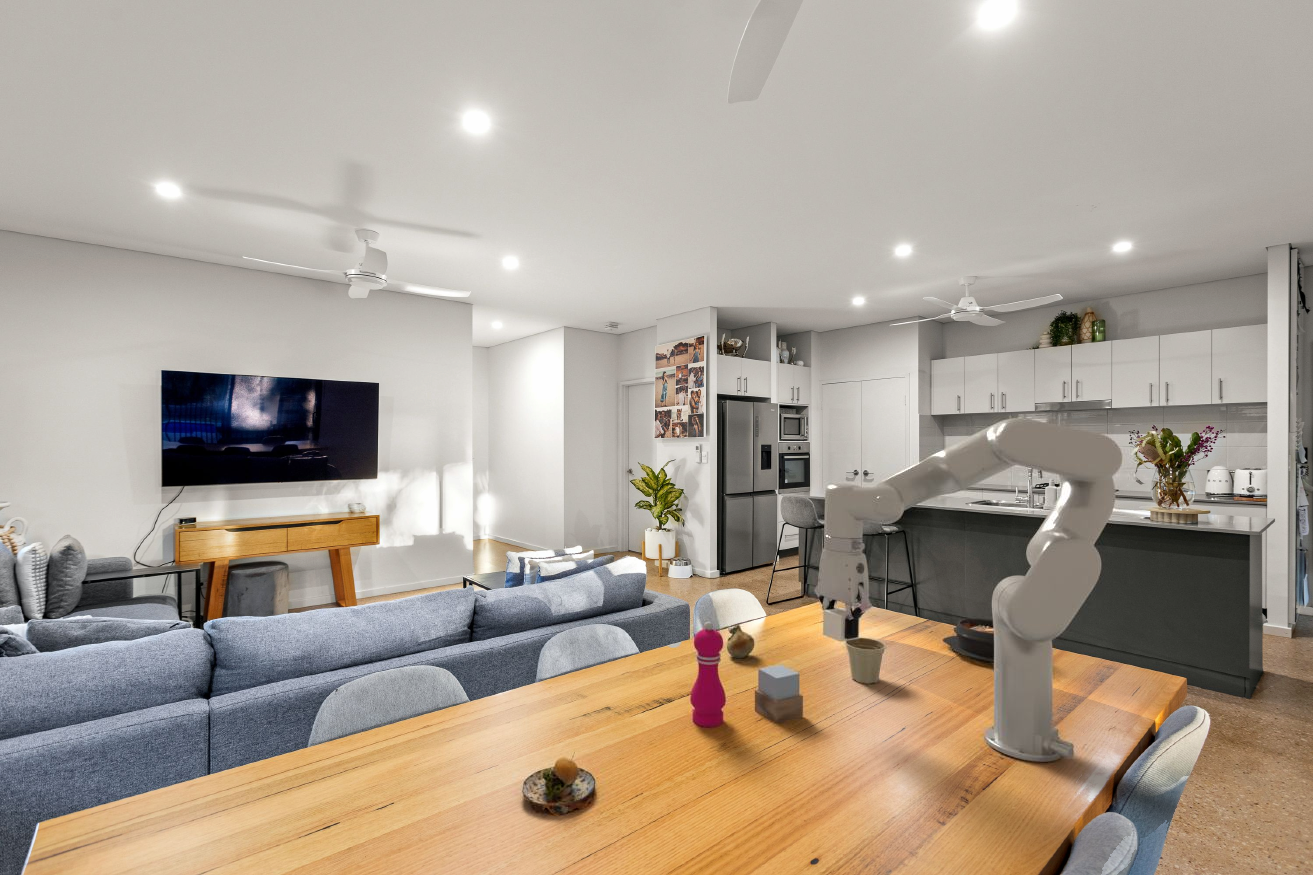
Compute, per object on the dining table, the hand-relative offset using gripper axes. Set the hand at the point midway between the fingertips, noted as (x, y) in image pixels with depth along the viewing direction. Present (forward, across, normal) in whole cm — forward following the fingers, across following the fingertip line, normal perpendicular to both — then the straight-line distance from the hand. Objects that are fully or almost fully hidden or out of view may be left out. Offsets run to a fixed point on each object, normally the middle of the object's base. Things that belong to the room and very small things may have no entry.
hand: (840, 632), depth 129 cm
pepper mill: (+19, +12, +24) cm, 32 cm away
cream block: (+1, 0, 0) cm, 1 cm away
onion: (+19, +41, -5) cm, 45 cm away
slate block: (+14, +8, +9) cm, 18 cm away
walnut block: (+18, +8, +9) cm, 22 cm away
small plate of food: (+19, +2, +60) cm, 63 cm away
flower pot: (+18, +14, -22) cm, 32 cm away
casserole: (+18, +10, -64) cm, 67 cm away
